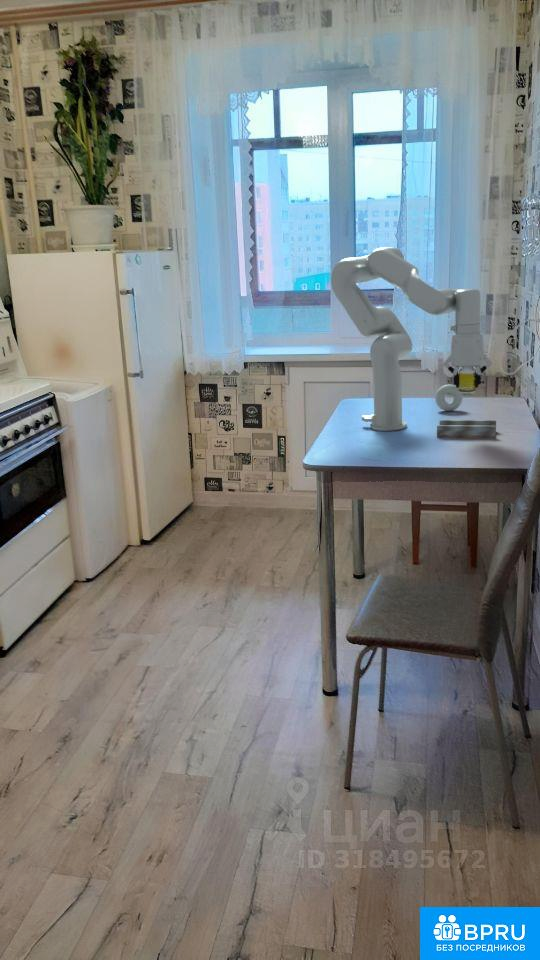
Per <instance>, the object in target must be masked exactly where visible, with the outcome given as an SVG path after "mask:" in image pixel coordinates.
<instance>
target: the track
mask: <svg viewBox="0 0 540 960" xmlns="http://www.w3.org/2000/svg"><path fill="white" fill-rule="evenodd" d="M438 423H439V424H437V425H436V438H442V437H449V439H450V438H451V439H452V438H455V439H456V438H457V439H458V438H460V439H462V438H463V439H466V438H467V439H496V435H497V420H496V419H439V422H438Z"/></svg>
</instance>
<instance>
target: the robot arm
mask: <svg viewBox="0 0 540 960" xmlns="http://www.w3.org/2000/svg"><path fill="white" fill-rule="evenodd" d="M379 278H381V279H383V281H386V282H387V283H388V284H391V285H393V286H394V287H395V288H397V289H398V290H400V291H401V292H402V293H403V295H404V296H405V297H406V298H407V300H409V302H411V303H412V304H414V305H415V306H416V307H417V308H419V309H421V310H423V312H426V313H428V314H430V315H432V316H441V315H444V314H449V313H454V312H455V314H454V315H455V316H454V317H455V318H454V319H455V320H454V321H455V324H454V325H451V326H450V331H451V332H452V331H453V332H454V333H453V334H452V338H451V344H450V345H451V346H450V355H449V357H447V358H446V360H445V361H444V362H443V364H442V366H443V367H445V368H446V369H447V370H448V371H449V372H450V373H451V374H452V375H453V385H455V386H456V388H458V387H459V370H460V368H462V367H473V368H474V369H475V370H476V389H478V388H479V385H481V380H482V379H481V378H482V377H481V375H482V374H483V373H484V372H486V370H487V369H488V368H489V367H491V366H492V364H493V361H491V359H490V358H489V357H488V356H487V355H486V354H485V343H484V335H483V333H481V297H482V296H481V291H480V289H477V288H461V289H458V288H449V287H448V288H442V289H436V288H434V287H433V286H431V285H429V284H428V283H426V282H425V281H423V280H422V279H421V278H420V276H419V269H418V268H417V266H415V265H414V264H413V263H410V262H409V261H407V260H405V257H404V254H403V253H402V251H401V250H400V249H398V248H396V247H393V246H388V247H379V248H376V249H374V250H372V252H370V254H368V255H364V256H358V257H357V256H356V257H354V256H353V257H346V258H344V259H343V258H342V259H341V260H340V261H338V262H337V263H336V264H334V267H333V268H332V271H331V274H330V285H331V290H332V292H333V294H334V296H335V297H336V299H337V300H338V301H339V303H340V304H341V305H342V307H343V308H344V310H345V311H346V313H347V315H348V316H349V318H350V320H351V321H352V322H353V324H354V325H355V327H356V330H358V332H359V333H360V334H361V335H362V336H364V337H366V338H371V337H376V336H377V337H376V339H374V340H373V342H372V343H371V345H370V347H369V350H370V351H369V355H370V361H371V366H372V378H373V379H372V380H373V383H372V385H373V412H374V413H373V414H371V415H368V414H367V415H362V417H361V421H362V422H366V423H368V422H369V423H370V424H369V427H370V429H371V428H372V430H374V431H382V432H390V431H391V432H392V431H401V430H403V429H406V428H407V426H408V424H407V422H406V421H404V420H403V398H402V397H403V395H402V394H403V392H402V390H403V386H402V384H403V383H402V382H403V381H402V371H401V370H402V369H401V366H400V363H399V361H401V360H404V359H406V358H407V357H408V356H410V354H411V353H412V349H413V342H412V339H411V336H410V334H409V333H408V331H407V330H406V328H405V327H404V326H403V324H402V323H401V321H400V320H399V318H398V316H397V315H396V314H395V313H394V311H392V310H391V309H390V308H389V307H387V306H375V305H374V304H373V303H372V302H371V300H370V299H369V297H368V296H367V294H366V293H365V291H363V290H362V289H361V288H360V287H359V286H358V285H357V284H359V283H366V282H369V281H373V280H376V279H379ZM484 362H485V364H484Z"/></svg>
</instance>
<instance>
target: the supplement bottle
mask: <svg viewBox="0 0 540 960" xmlns="http://www.w3.org/2000/svg"><path fill="white" fill-rule="evenodd" d="M476 373H477V371H476V368H475V367H461V368H459V370H458V374H459V387H458V392H459V393H461V394H462V395H470V394H475V393H476V389H477V388H476Z"/></svg>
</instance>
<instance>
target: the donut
mask: <svg viewBox="0 0 540 960" xmlns="http://www.w3.org/2000/svg"><path fill="white" fill-rule="evenodd" d="M448 394H451V395H452V396H453V398H452V399H451V401H446V399H445V396H446V395H448ZM463 395H464V394H461V393H459V392H458V388H456V385H454V384H449V383H448V384H444V385H442V386H440V387H439V388H438V389H437V391H436V393H435V397H434V399H435V403H436V405H437V407H438V408H439V409H440V410H443V411H444V412H445V411H446V412H452V411H455V410H456V409H458V408H459V407H460V406H461V404H462V402H463V398H464V397H463Z"/></svg>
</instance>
